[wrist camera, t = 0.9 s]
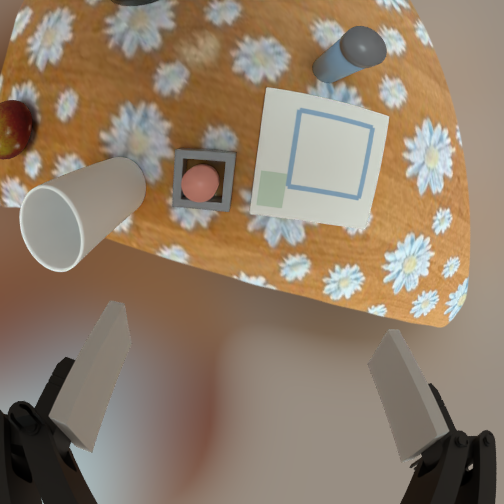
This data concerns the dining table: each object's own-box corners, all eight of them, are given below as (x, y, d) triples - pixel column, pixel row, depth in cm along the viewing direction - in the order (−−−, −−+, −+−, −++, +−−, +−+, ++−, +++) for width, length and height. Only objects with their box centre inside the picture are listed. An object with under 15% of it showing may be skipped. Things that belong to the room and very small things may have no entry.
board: (266, 88, 28) (266, 87, 27) (386, 116, 29) (389, 116, 28) (249, 212, 35) (249, 214, 34) (363, 227, 36) (365, 230, 35)
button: (187, 162, 30) (182, 165, 28) (221, 165, 30) (218, 168, 28) (185, 195, 32) (180, 200, 29) (218, 198, 32) (215, 204, 30)
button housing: (180, 147, 31) (175, 149, 29) (236, 152, 32) (235, 154, 29) (177, 201, 34) (172, 206, 32) (230, 206, 35) (229, 211, 32)
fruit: (48, 127, 28) (13, 133, 21) (21, 165, 30) (-12, 178, 23) (27, 88, 25) (-7, 88, 17) (1, 127, 27) (-30, 134, 19)
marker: (313, 53, 26) (346, 20, 15) (342, 60, 26) (387, 35, 15) (310, 79, 27) (343, 57, 16) (339, 86, 28) (385, 71, 17)
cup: (156, 176, 33) (95, 218, 18) (130, 225, 36) (71, 287, 21) (109, 146, 30) (29, 168, 16) (87, 196, 33) (14, 241, 19)
